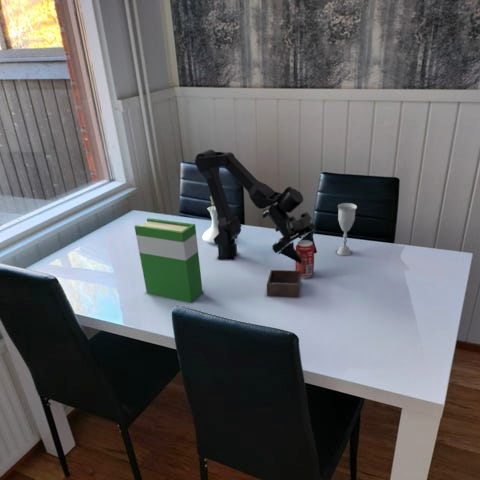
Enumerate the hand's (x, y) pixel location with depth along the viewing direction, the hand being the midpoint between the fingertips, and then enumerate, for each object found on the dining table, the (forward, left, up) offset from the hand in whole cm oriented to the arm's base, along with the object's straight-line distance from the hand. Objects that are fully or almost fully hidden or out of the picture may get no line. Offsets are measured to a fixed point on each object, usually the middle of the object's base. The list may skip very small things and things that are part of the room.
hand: (308, 257), depth 159 cm
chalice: (+12, +20, -7) cm, 25 cm away
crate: (-7, -10, -7) cm, 14 cm away
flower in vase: (-40, +30, -7) cm, 50 cm away
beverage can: (-1, +1, -7) cm, 7 cm away
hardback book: (-44, -16, -7) cm, 47 cm away
